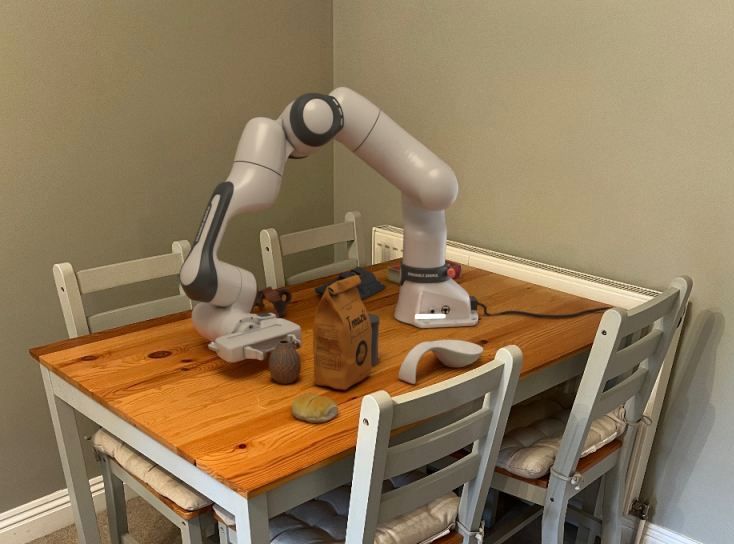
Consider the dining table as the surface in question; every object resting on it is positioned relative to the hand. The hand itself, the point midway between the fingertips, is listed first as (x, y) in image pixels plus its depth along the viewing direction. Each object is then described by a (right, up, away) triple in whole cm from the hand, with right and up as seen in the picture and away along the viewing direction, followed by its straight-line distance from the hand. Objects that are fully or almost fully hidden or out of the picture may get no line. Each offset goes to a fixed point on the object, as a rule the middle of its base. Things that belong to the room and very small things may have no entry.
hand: (281, 350), depth 159 cm
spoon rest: (+35, -2, +10) cm, 36 cm away
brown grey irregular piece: (-7, +19, +41) cm, 45 cm away
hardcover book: (+36, +38, +72) cm, 89 cm away
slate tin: (+17, 0, +13) cm, 22 cm away
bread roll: (+8, -15, -11) cm, 21 cm away
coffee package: (+13, -6, +3) cm, 15 cm away
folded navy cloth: (+13, +30, +59) cm, 68 cm away
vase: (0, -6, +3) cm, 7 cm away
